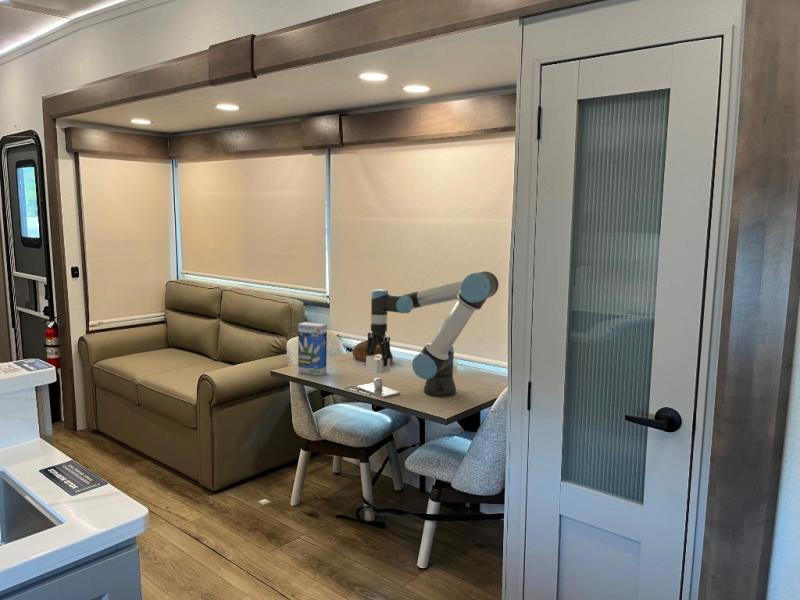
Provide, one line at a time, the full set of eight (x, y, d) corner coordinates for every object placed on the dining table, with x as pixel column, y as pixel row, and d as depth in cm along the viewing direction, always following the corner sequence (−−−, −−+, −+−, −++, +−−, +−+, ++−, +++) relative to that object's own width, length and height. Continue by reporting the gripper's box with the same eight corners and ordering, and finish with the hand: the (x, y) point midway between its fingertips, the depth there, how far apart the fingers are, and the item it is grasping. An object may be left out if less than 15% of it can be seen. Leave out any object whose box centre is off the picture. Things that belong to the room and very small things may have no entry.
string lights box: (297, 372, 312) (297, 323, 308) (305, 369, 319) (304, 321, 315) (320, 375, 307) (320, 326, 304) (327, 372, 314) (327, 323, 311)
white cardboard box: (389, 371, 280) (390, 356, 279) (376, 374, 275) (376, 359, 274) (379, 368, 286) (379, 353, 285) (365, 370, 281) (366, 355, 280)
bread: (377, 368, 325) (377, 347, 324) (345, 357, 347) (345, 338, 345) (399, 363, 335) (399, 343, 334) (366, 354, 357) (367, 335, 356)
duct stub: (400, 394, 278) (400, 381, 277) (383, 398, 271) (383, 385, 270) (373, 384, 292) (373, 372, 292) (356, 388, 286) (356, 375, 285)
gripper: (399, 325, 272) (398, 374, 275) (371, 318, 287) (370, 364, 291) (387, 327, 267) (385, 376, 270) (358, 320, 283) (357, 367, 286)
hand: (377, 370), depth 281 cm, fingers closed on white cardboard box, 8 cm apart
